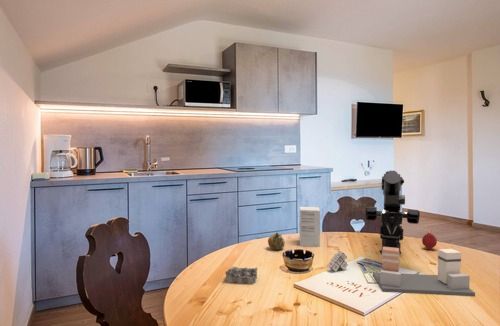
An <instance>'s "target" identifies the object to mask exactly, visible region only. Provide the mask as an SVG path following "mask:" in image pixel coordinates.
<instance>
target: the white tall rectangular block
mask: <svg viewBox="0 0 500 326" xmlns="http://www.w3.org/2000/svg"><path fill="white" fill-rule="evenodd" d="M437 253H438V254H437V275H438V280H440V281H442V282H444V283H445V284H447V283H448V274H461V265H462V263H461V261H462V259H461V258H462V252H460V251H459V250H456V249H454V248H443V249H440V248H439V249H438V252H437Z"/></svg>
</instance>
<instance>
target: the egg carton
mask: <svg viewBox="0 0 500 326" xmlns="http://www.w3.org/2000/svg"><path fill="white" fill-rule="evenodd" d="M224 274H225V282H227V283H228V284H232V283H238V284H244V283H246V284H249V285H252V284H256V282H257V279H258V267H254V268H253V267H252V268H251V267H249V268H248V267H237V266H232V267H230V268H228V269H227V270H226V271H225V273H224Z"/></svg>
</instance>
